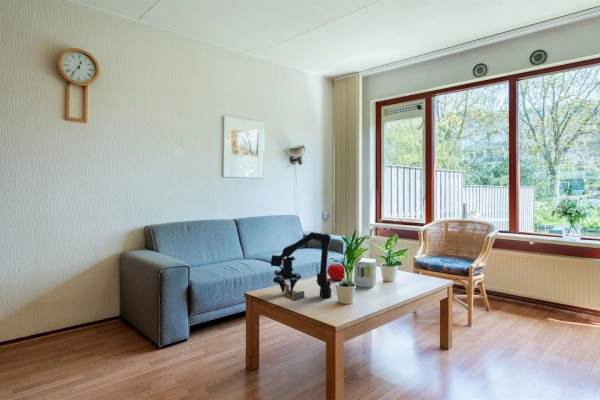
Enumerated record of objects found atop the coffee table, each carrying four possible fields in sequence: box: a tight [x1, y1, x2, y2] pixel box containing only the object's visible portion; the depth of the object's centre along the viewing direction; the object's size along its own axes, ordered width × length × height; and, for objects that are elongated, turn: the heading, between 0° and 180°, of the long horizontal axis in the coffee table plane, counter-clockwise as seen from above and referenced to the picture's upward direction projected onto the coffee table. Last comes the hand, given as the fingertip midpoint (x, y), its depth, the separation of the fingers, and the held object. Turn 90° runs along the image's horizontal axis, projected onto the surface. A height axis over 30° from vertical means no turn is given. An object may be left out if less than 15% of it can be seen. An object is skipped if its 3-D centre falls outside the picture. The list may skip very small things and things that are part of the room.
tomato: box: [327, 263, 345, 281], centre depth 267 cm, size 12×13×12 cm
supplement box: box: [353, 257, 377, 289], centre depth 254 cm, size 13×13×18 cm
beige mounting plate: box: [278, 290, 307, 302], centre depth 223 cm, size 14×10×5 cm
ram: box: [284, 283, 295, 295], centre depth 226 cm, size 5×5×6 cm
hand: (287, 291), depth 227 cm, fingers open, 7 cm apart
